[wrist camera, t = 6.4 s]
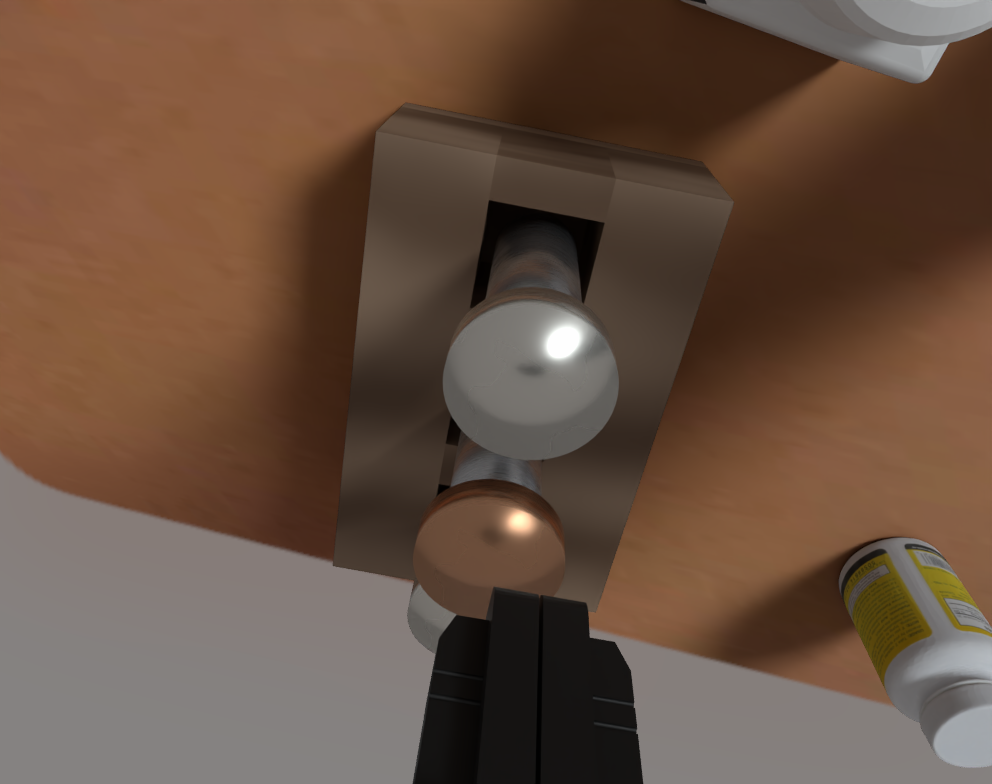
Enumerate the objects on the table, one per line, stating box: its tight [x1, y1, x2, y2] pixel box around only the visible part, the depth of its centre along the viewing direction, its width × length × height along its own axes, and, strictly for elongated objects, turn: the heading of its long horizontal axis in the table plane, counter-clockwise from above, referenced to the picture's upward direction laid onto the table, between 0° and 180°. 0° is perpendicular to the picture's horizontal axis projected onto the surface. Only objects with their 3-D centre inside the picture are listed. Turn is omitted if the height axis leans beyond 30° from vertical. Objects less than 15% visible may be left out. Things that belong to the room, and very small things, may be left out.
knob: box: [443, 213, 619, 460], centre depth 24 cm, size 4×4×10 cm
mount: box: [333, 103, 734, 612], centre depth 32 cm, size 19×12×6 cm, turn 170°
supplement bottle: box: [839, 537, 992, 768], centre depth 36 cm, size 5×5×10 cm
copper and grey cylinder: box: [413, 430, 565, 620], centre depth 27 cm, size 4×4×10 cm
